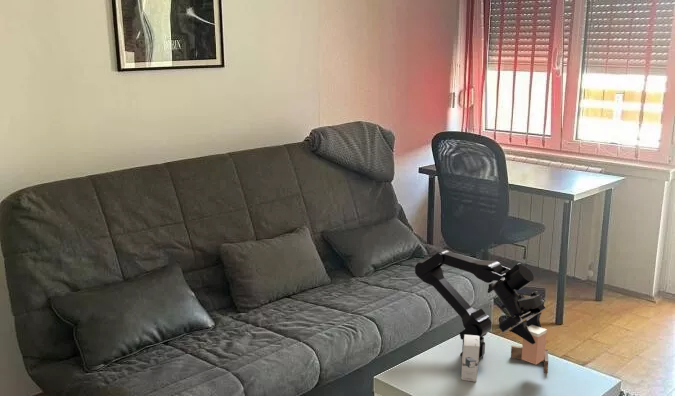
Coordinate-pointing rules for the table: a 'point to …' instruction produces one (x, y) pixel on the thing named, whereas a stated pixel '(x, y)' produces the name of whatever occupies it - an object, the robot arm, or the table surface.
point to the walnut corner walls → (517, 353)
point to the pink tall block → (535, 345)
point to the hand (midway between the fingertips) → (538, 340)
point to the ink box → (470, 357)
